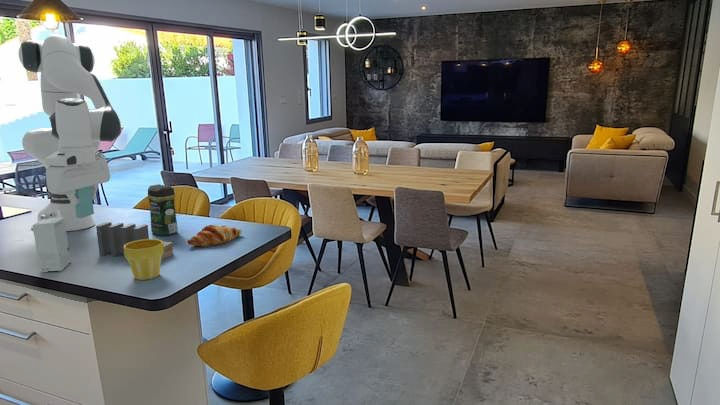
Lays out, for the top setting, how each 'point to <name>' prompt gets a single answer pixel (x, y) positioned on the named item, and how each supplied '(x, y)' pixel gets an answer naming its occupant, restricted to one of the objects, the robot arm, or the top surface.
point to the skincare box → (51, 244)
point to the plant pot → (144, 257)
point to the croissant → (214, 235)
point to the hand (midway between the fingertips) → (83, 202)
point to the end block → (167, 250)
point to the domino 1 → (84, 202)
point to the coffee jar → (162, 210)
